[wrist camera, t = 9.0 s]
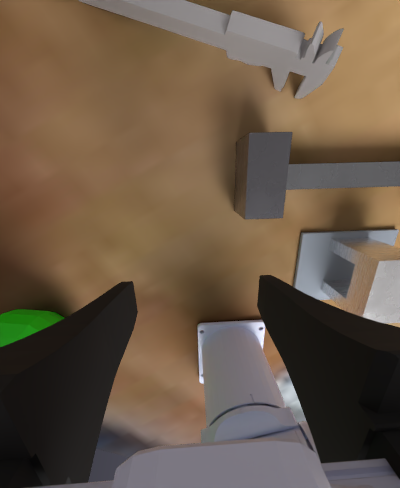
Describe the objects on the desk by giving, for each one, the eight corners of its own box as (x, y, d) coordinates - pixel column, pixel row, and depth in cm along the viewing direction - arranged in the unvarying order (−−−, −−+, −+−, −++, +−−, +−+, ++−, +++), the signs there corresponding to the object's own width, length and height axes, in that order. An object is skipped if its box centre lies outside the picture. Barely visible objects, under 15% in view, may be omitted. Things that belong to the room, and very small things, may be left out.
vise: (430, 203, 20) (486, 210, 16) (234, 210, 19) (244, 219, 16) (454, 137, 18) (524, 127, 14) (236, 141, 17) (249, 132, 14)
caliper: (303, 87, 16) (367, 37, 11) (297, 101, 17) (355, 62, 11) (42, -33, 14) (-73, -196, 8) (41, -13, 14) (-71, -152, 8)
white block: (355, 288, 22) (404, 322, 17) (320, 289, 22) (360, 324, 17) (368, 237, 20) (429, 258, 15) (330, 239, 20) (379, 261, 15)
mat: (374, 294, 23) (377, 296, 23) (291, 299, 23) (293, 301, 23) (395, 229, 21) (398, 230, 20) (301, 232, 20) (303, 233, 20)
